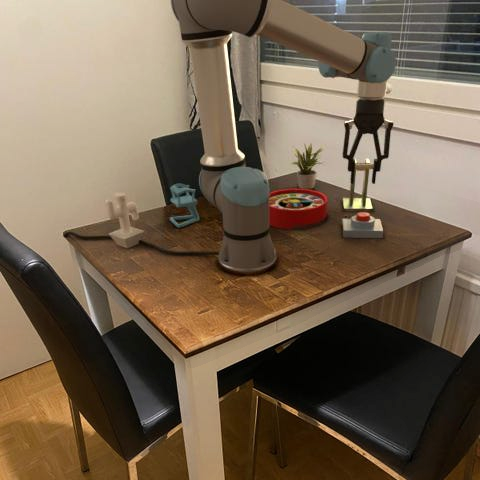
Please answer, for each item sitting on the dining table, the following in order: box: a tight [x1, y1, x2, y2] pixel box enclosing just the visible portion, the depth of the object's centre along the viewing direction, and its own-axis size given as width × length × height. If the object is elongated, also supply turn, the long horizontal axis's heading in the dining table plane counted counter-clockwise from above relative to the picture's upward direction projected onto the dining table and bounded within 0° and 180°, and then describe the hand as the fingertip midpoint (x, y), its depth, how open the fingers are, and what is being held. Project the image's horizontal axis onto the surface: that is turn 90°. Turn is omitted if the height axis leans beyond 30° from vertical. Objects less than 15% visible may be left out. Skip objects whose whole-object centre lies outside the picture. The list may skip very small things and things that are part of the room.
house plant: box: [291, 143, 327, 190], centre depth 172 cm, size 14×14×16 cm
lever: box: [355, 162, 374, 172], centre depth 149 cm, size 13×6×2 cm, turn 172°
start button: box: [356, 211, 371, 221], centre depth 141 cm, size 4×4×2 cm
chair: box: [169, 182, 200, 229], centre depth 153 cm, size 8×8×12 cm
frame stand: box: [342, 158, 373, 210], centre depth 157 cm, size 10×9×15 cm
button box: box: [341, 214, 384, 239], centre depth 143 cm, size 11×9×4 cm
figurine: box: [105, 191, 145, 249], centre depth 139 cm, size 7×9×15 cm
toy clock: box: [269, 188, 328, 230], centre depth 154 cm, size 20×6×20 cm
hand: (362, 182), depth 147 cm, fingers closed on lever, 5 cm apart
